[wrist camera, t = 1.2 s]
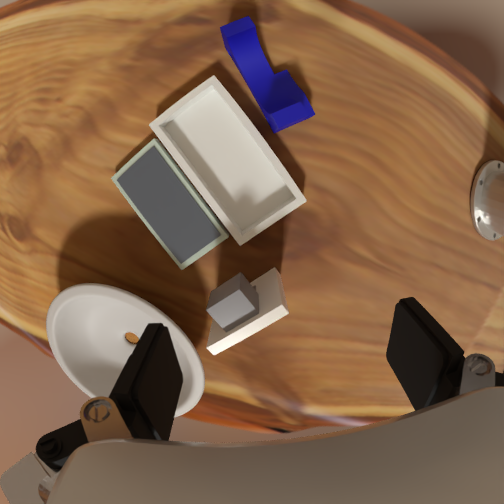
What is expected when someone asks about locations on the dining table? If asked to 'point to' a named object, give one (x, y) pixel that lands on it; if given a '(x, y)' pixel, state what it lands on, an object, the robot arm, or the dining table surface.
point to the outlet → (244, 308)
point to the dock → (227, 160)
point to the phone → (169, 205)
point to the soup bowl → (112, 339)
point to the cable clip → (265, 77)
